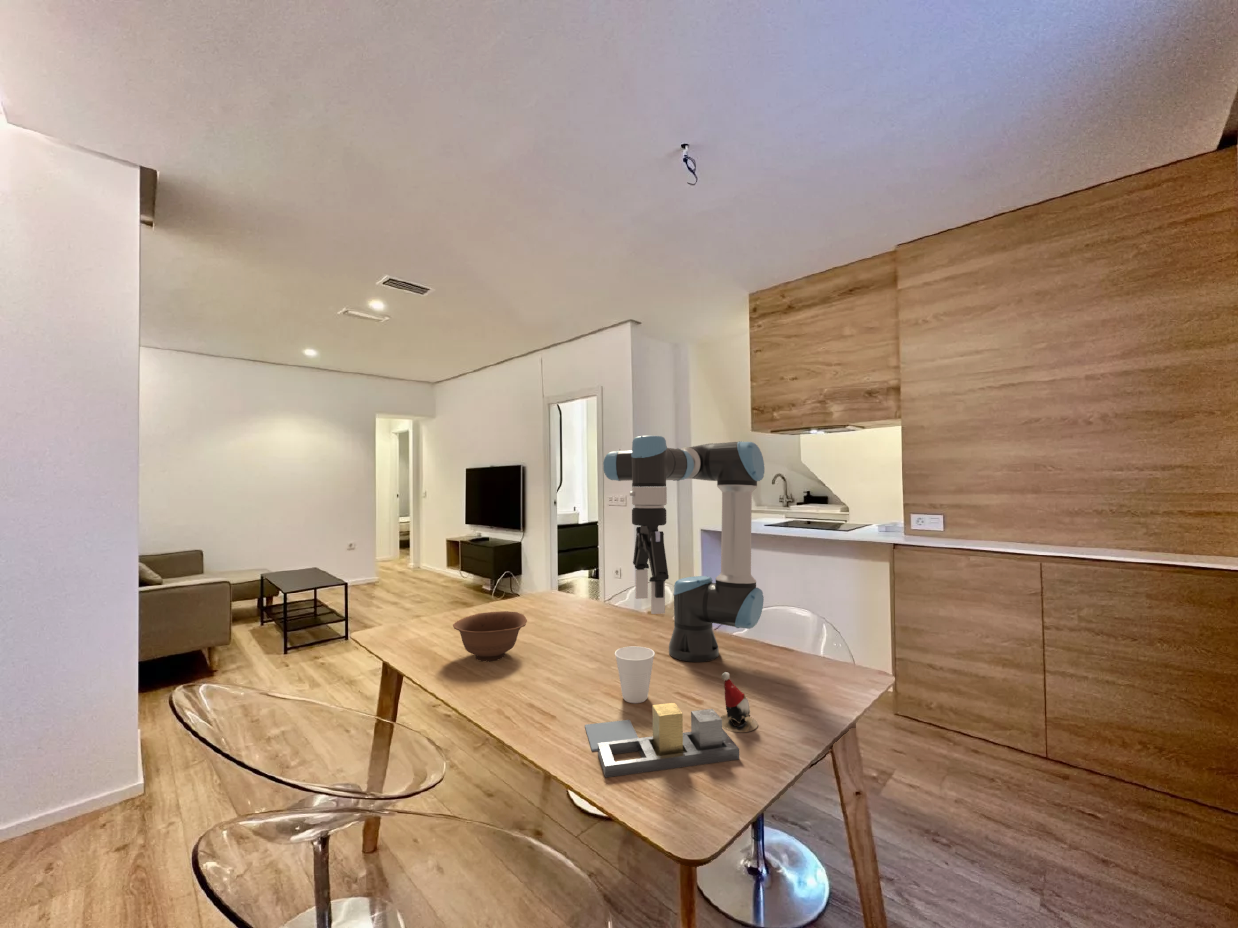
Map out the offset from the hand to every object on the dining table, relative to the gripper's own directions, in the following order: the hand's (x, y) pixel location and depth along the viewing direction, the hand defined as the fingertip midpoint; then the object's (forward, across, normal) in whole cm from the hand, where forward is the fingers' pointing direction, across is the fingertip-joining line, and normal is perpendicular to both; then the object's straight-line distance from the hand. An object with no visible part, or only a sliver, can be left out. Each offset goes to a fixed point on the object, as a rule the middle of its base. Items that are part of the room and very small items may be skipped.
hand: (649, 605), depth 106 cm
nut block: (+26, +11, +1) cm, 28 cm away
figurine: (+26, +1, +20) cm, 33 cm away
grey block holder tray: (+26, +11, +1) cm, 28 cm away
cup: (+26, -15, 0) cm, 30 cm away
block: (+26, +10, +9) cm, 30 cm away
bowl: (+26, -53, -36) cm, 69 cm away
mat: (+26, +1, -8) cm, 28 cm away
